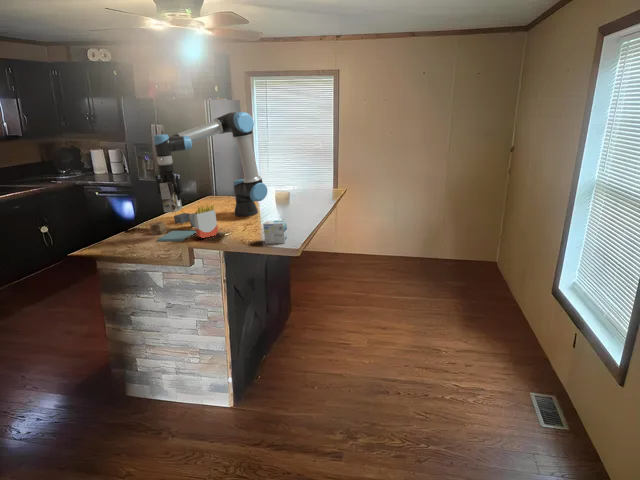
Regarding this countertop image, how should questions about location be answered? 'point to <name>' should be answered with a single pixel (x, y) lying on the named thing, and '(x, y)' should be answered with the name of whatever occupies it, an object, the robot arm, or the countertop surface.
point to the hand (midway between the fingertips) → (172, 206)
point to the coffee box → (169, 197)
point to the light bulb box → (275, 232)
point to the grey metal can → (192, 219)
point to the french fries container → (206, 222)
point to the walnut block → (158, 228)
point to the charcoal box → (182, 218)
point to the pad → (176, 236)
